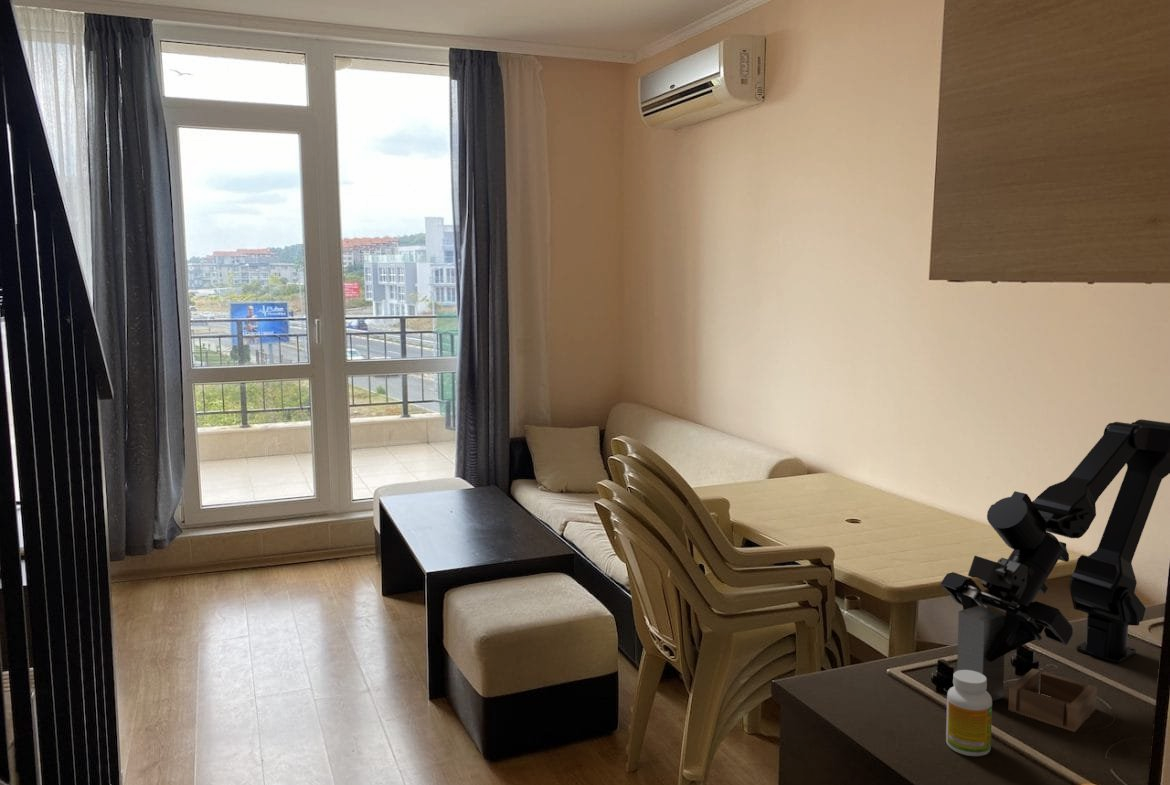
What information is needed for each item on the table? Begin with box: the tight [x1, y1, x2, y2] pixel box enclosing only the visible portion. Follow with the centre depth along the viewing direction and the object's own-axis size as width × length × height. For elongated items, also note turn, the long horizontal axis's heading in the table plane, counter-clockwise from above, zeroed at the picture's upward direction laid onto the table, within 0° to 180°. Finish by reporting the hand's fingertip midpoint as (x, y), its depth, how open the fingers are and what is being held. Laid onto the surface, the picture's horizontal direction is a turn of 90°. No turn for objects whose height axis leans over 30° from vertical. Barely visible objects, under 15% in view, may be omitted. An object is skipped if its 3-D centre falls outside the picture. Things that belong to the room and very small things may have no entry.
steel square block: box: [956, 605, 1006, 702], centre depth 127 cm, size 4×4×12 cm
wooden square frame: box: [1007, 667, 1098, 733], centre depth 123 cm, size 9×9×4 cm
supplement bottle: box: [945, 670, 993, 757], centre depth 114 cm, size 5×5×10 cm
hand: (974, 653), depth 126 cm, fingers closed on steel square block, 4 cm apart
